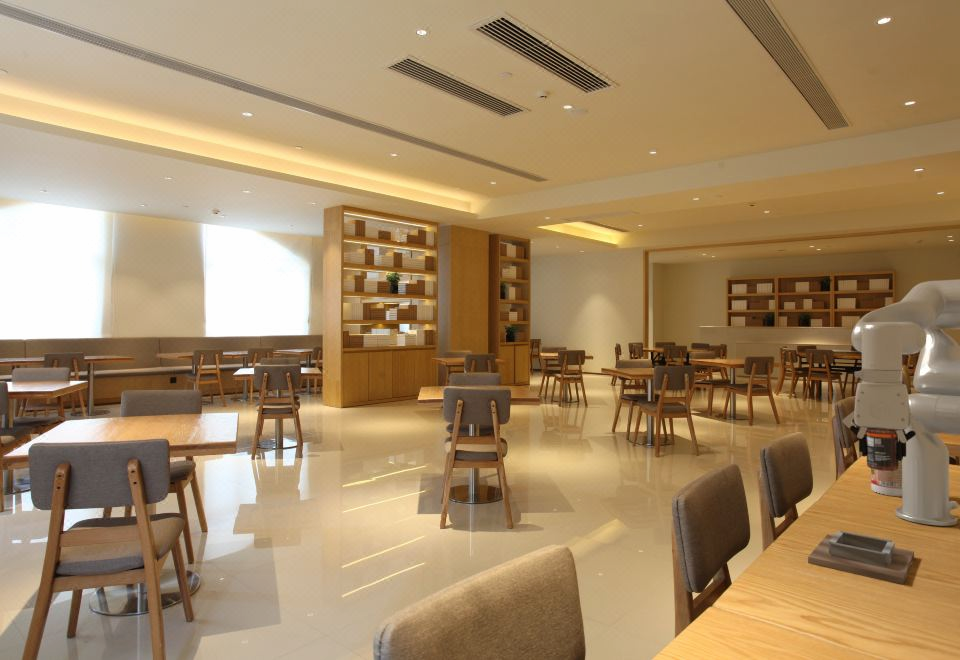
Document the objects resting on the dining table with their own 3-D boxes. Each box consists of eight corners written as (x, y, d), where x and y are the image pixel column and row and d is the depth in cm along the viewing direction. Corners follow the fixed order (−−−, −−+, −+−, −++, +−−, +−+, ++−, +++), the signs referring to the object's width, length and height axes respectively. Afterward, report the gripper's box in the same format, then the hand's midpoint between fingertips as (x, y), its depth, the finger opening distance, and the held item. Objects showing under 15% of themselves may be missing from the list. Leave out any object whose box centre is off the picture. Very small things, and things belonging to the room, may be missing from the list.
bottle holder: (827, 539, 135) (827, 523, 135) (914, 557, 124) (913, 539, 124) (808, 562, 121) (808, 544, 121) (903, 584, 111) (903, 564, 111)
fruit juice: (891, 498, 169) (890, 399, 169) (863, 489, 178) (862, 396, 178) (918, 496, 171) (917, 399, 171) (889, 487, 180) (888, 395, 180)
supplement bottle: (893, 466, 135) (893, 416, 135) (902, 472, 129) (902, 420, 129) (863, 464, 137) (862, 415, 137) (870, 470, 131) (870, 419, 131)
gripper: (834, 376, 136) (834, 455, 136) (928, 380, 125) (928, 466, 125) (841, 374, 142) (841, 450, 142) (931, 378, 130) (931, 460, 130)
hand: (882, 456), depth 133 cm, fingers closed on supplement bottle, 5 cm apart
